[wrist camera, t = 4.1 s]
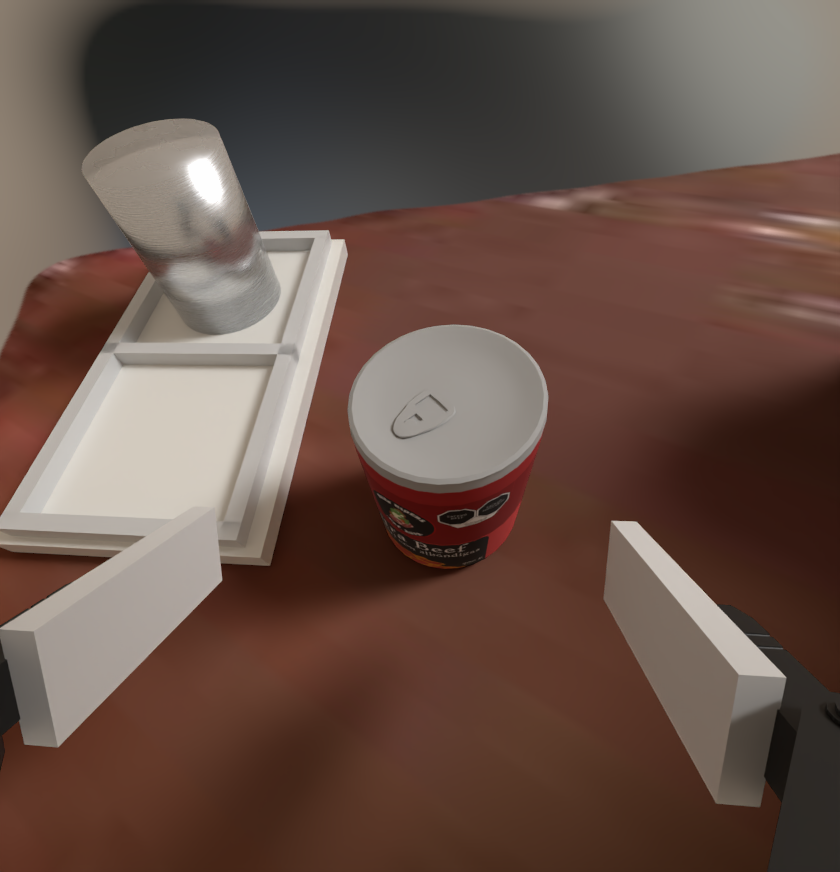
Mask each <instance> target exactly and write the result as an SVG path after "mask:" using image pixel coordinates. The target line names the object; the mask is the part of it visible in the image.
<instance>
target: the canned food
mask: <svg viewBox="0 0 840 872" xmlns="http://www.w3.org/2000/svg"><path fill="white" fill-rule="evenodd" d="M547 407H548V392H547V387H546V381H545V379H544V376H543V374H542V372H541V370H540V368H539V366H538V365H537V363H536V362H535V361H534V359H533V358H532V357H531V355H530V354H529V353H528V352H527V351H525V350H524V349H523V348H522V347H521V346H520V345H519V344H517V343H516V342H514V341H512V340H510V339H509V338H507V337H505V336H504V335H501V334H499V333H496V332H493V331H491V330H488V329H484V328H479V327H474V326H466V325H442V326H434V327H429V328H424V329H420V330H417V331H414V332H411V333H409V334H406V335H403V336H401V337H399V338H398V339H396V340H394V341H392V342H390V343H388V344H387V345H386V346H384V347H383V348H382V349H380V350H379V351H378V352H376V353H375V354H374V355H373V356H372V357H371V358H370V359H369V360H368V362H367V363H366V364H365V365H364V366H363V367H362V369H361V371H360V372H359V374H358V375H357V377H356V379H355V381H354V383H353V386H352V389H351V392H350V394H349V403H348V417H349V424H350V431H351V436H352V438H353V441H354V444H355V448H356V451H357V454H358V456H359V459H360V462H361V464H362V467H363V470H364V472H365V475H366V477H367V480H368V483H369V485H370V488H371V491H372V493H373V496H374V499H375V501H376V504H377V507H378V509H379V512H380V515H381V517H382V520H383V523H384V525H385V528H386V530H387V533H388V535H389V537H390V538H391V540H392V541H393V543H394V544H395V546H396V547H397V548H398V549H399V550H400V551H402V552H403V553H404V554H405V555H406V556H408V557H409V558H411V559H413V560H414V561H416V562H418V563H421V564H424V565H426V566H429V567H435V568H442V569H449V568H460V567H464V566H468V565H472V564H474V563H476V562H479V561H481V560H483V559H485V558H486V557H488V556H489V555H490V554H492V553H493V552H495V551H496V550H497V549H498V548H499V547H500V546H501V545H502V543H503V542H504V541H505V540H506V539H507V537H508V535H509V533H510V532H511V530H512V528H513V525H514V522H515V519H516V516H517V513H518V510H519V507H520V504H521V500H522V497H523V494H524V491H525V488H526V485H527V482H528V479H529V476H530V472H531V469H532V466H533V463H534V460H535V457H536V454H537V451H538V448H539V444H540V441H541V438H542V434H543V430H544V427H545V423H546V417H547Z"/></svg>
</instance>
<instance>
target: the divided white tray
mask: <svg viewBox="0 0 840 872" xmlns="http://www.w3.org/2000/svg"><path fill="white" fill-rule="evenodd" d="M259 234H260V236H261V239H262V241H263V244H264V246H265V249H266V251H267V253H268V256H269V258H270V261H271V263H272V266H273V268H274V271H275V273H276V276H277V278H278V281H279V283H280V287H281V294H280V298H279V300H278V303H277V304H276V306H275V307H274V309H273V310H272V311H271V312H270V313H269V314H268V315H267V316H266V317H265V318H263V319H262V320H261V321H259V322H258V323H256V324H254V325H252V326H250V327H248V328H246V329H243V330H241V331H237V332H234V333H229V334H222V335H209V334H203V333H199V332H196V331H194V330H192V329H191V328H189V327H188V326H187V325H186V324H185V323H184V321H183V320H182V318H181V317H180V316H179V314H178V313H177V311H176V310H175V308H174V307H173V305H172V304H171V302H170V301H169V300H168V298H167V297H166V295H165V294H164V292H163V291H162V289H161V288H160V286H159V285H158V283H157V282H156V281H155V279H154V278H153V276H152V275H151V273H150V272H149V273H148V274H147V276H146V277H145V279H144V281H143V282H142V284H141V286H140V287H139V289H138V291H137V292H136V294H135V296H134V297H133V299H132V301H131V302H130V304H129V306H128V307H127V309H126V311H125V312H124V314H123V315H122V317H121V319H120V320H119V322H118V324H117V325H116V327H115V329H114V330H113V332H112V334H111V335H110V337H109V339H108V340H107V342H106V344H105V345H104V347H103V349H102V350H101V352H100V353H99V355H98V357H97V358H96V360H95V362H94V363H93V365H92V367H91V368H90V370H89V372H88V373H87V375H86V377H85V378H84V380H83V382H82V383H81V385H80V386H79V388H78V390H77V391H76V393H75V395H74V396H73V398H72V400H71V401H70V403H69V405H68V406H67V408H66V410H65V411H64V413H63V415H62V416H61V418H60V420H59V421H58V423H57V424H56V426H55V428H54V429H53V431H52V433H51V434H50V436H49V438H48V439H47V441H46V443H45V444H44V446H43V448H42V449H41V451H40V453H39V454H38V456H37V458H36V459H35V461H34V462H33V464H32V466H31V467H30V469H29V471H28V472H27V474H26V476H25V477H24V479H23V481H22V482H21V484H20V486H19V487H18V489H17V491H16V492H15V494H14V496H13V497H12V499H11V500H10V502H9V504H8V505H7V507H6V509H5V510H4V512H3V514H2V515H1V517H0V547H1V548H4V549H7V550H9V551H12V552H24V553H43V554H61V555H79V556H98V557H114V556H115V555H117V554H119V553H120V552H122V551H123V550H125V549H127V548H128V547H130V546H131V545H133V544H135V543H136V542H138V541H139V540H141V539H143V538H144V537H146V536H147V535H149V534H150V533H152V532H154V531H155V530H157V529H158V528H160V527H162V526H163V525H165V524H166V523H168V522H170V521H171V520H173V519H174V518H176V517H178V516H179V515H181V514H182V513H184V512H186V511H187V510H189V509H190V508H192V507H215V515H216V524H217V534H218V544H219V553H220V563H226V564H245V565H263V566H270V564H271V560H272V556H273V552H274V548H275V544H276V540H277V536H278V532H279V528H280V524H281V520H282V516H283V512H284V508H285V504H286V500H287V496H288V492H289V488H290V484H291V480H292V476H293V472H294V468H295V464H296V460H297V456H298V452H299V448H300V444H301V440H302V436H303V432H304V428H305V424H306V420H307V416H308V412H309V408H310V404H311V400H312V396H313V392H314V388H315V384H316V380H317V376H318V372H319V368H320V364H321V360H322V356H323V352H324V348H325V344H326V340H327V336H328V332H329V328H330V324H331V320H332V316H333V312H334V308H335V304H336V300H337V296H338V292H339V288H340V284H341V280H342V276H343V272H344V268H345V264H346V260H347V256H348V254H347V249H346V245H345V241H344V240H331V237H330V233H329V230H327V231H271V232H259Z"/></svg>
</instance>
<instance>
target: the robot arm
mask: <svg viewBox="0 0 840 872" xmlns="http://www.w3.org/2000/svg"><path fill="white" fill-rule="evenodd" d="M221 581H222V572H221V563H220V553H219V544H218V534H217V524H216V515H215V507H192V508H190V509H189V510H187V511H186V512H184V513H182V514H181V515H179V516H178V517H176V518H174V519H173V520H171V521H170V522H168V523H166V524H165V525H163V526H162V527H160V528H158V529H157V530H155V531H154V532H152V533H150V534H149V535H147V536H146V537H144V538H143V539H141V540H139V541H138V542H136V543H135V544H133V545H131V546H130V547H128V548H127V549H125V550H123V551H122V552H120V553H119V554H117V555H115V556H114V557H112V558H111V559H109V560H108V561H106V562H104V563H103V564H101V565H100V566H98V567H96V568H95V569H93V570H92V571H90V572H88V573H87V574H85V575H84V576H82V577H80V578H79V579H77V580H76V581H74V582H71V583H69V584H66V585H64V586H63V587H61V588H60V589H58V590H56V591H55V592H53V593H52V594H50V595H48V596H47V598H46V599H42V600H40V601H39V602H37V603H36V604H34V605H32V606H31V609H26V610H24V611H23V612H21V613H20V614H18V615H16V616H15V617H13V618H12V619H10V620H8V621H7V622H5V623H3V624H2V625H0V770H1V766H2V761H3V757H4V753H5V748H4V742H3V738H2V735H3V734H4V733H5V732H6V731H7V730H8V729H10V728H11V727H12V726H13V725H14V724H15V723H17V722H18V721H19V723H20V727H21V732H22V736H23V740H24V744H25V745H36V746H48V747H59V746H60V745H61V744H62V743H63V742H64V741H65V740H66V739H67V738H68V737H69V736H70V735H71V734H72V733H73V732H74V731H75V730H76V729H77V728H78V727H79V725H80V724H81V723H82V722H83V721H84V720H85V719H86V718H87V717H88V716H89V715H90V714H91V713H92V712H93V711H94V710H95V709H96V708H97V707H98V706H99V705H100V704H101V703H102V702H103V701H104V700H105V699H106V698H107V697H108V696H109V695H110V694H111V693H112V692H113V691H114V690H115V689H116V688H117V687H118V686H119V685H120V684H121V683H122V682H123V681H124V680H125V679H126V678H127V677H128V676H129V675H130V674H131V673H132V672H133V671H134V670H135V669H136V668H137V667H138V666H139V665H140V664H141V663H142V662H143V661H144V659H145V658H146V657H147V656H148V655H149V654H150V653H151V652H152V651H153V650H154V649H155V648H156V647H157V646H158V645H159V644H160V643H161V642H162V641H163V640H164V639H165V638H166V637H167V636H168V635H169V634H170V633H171V632H172V631H173V630H174V629H175V628H176V627H177V626H178V625H179V624H180V623H181V622H182V621H183V620H184V619H185V618H186V617H187V616H188V615H189V614H190V613H191V612H192V611H193V610H194V609H195V608H196V607H197V606H198V605H199V604H200V603H201V602H202V601H203V600H204V599H205V598H206V597H207V596H208V595H209V594H210V592H211V591H212V590H213V589H214V588H215V587H216V586H217V585H218V584H219V583H220V582H221ZM604 601H605V603H606V604H607V606H608V608H609V610H610V612H611V613H612V615H613V617H614V619H615V621H616V623H617V624H618V626H619V628H620V630H621V632H622V633H623V635H624V637H625V639H626V641H627V643H628V644H629V646H630V648H631V650H632V652H633V653H634V655H635V657H636V659H637V661H638V663H639V664H640V666H641V668H642V670H643V672H644V673H645V675H646V677H647V679H648V681H649V683H650V684H651V686H652V688H653V690H654V692H655V693H656V695H657V697H658V699H659V701H660V702H661V704H662V706H663V708H664V710H665V712H666V713H667V715H668V717H669V719H670V721H671V722H672V724H673V726H674V728H675V730H676V732H677V733H678V735H679V737H680V739H681V741H682V742H683V744H684V746H685V748H686V750H687V752H688V753H689V755H690V757H691V759H692V761H693V762H694V764H695V766H696V768H697V770H698V771H699V773H700V775H701V777H702V779H703V781H704V782H705V784H706V786H707V788H708V790H709V791H710V793H711V795H712V797H713V799H714V801H715V802H716V804H728V805H740V806H752V807H760V805H761V801H762V796H763V791H764V786H765V781H767V782H768V784H769V785H770V786H771V788H772V789H773V791H774V792H775V794H776V795H777V796H778V798H779V799H780V801H781V802H782V804H781V809H780V813H779V818H778V823H777V827H776V832H775V837H774V841H773V846H772V850H771V856H770V860H769V865H768V870H767V872H840V693H835V692H830V691H829V690H827V689H826V688H825V687H824V686H823V685H822V684H821V683H820V682H819V681H818V680H817V679H816V678H815V677H814V676H813V675H812V674H811V673H810V672H809V671H808V670H807V669H805V668H804V667H803V666H802V665H801V664H800V663H799V662H798V661H797V660H796V659H795V658H794V657H793V656H792V655H791V654H790V653H789V652H788V651H787V650H783V647H782V646H781V645H780V644H779V643H778V642H777V641H776V640H775V639H774V638H773V637H770V636H769V633H768V632H767V631H766V630H765V629H764V628H763V627H761V626H760V625H759V624H758V623H757V622H756V621H755V620H754V619H753V618H751V617H750V616H748V615H746V614H745V613H743V612H741V611H740V610H738V609H736V608H735V607H733V606H731V605H717V604H715V603H714V602H713V601H712V600H711V599H710V598H709V597H708V596H707V594H706V593H705V592H704V591H703V590H702V589H701V588H700V587H699V586H698V585H697V584H696V583H695V582H694V581H693V580H692V579H691V578H690V577H689V576H688V575H687V574H686V573H685V572H684V571H683V570H682V569H681V568H680V566H679V565H678V564H677V563H676V562H675V561H674V560H673V559H672V558H671V557H670V556H669V555H668V554H667V553H666V552H665V551H664V550H663V549H662V548H661V547H660V546H659V545H658V544H657V543H656V542H655V541H654V539H653V538H652V537H651V536H650V535H649V534H648V533H647V532H646V531H645V530H644V529H643V528H642V527H641V526H640V525H639V524H638V523H637V522H633V521H611V528H610V538H609V548H608V559H607V569H606V579H605V589H604Z"/></svg>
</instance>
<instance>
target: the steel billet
mask: <svg viewBox="0 0 840 872" xmlns="http://www.w3.org/2000/svg"><path fill="white" fill-rule="evenodd" d="M82 173H83V175H84V177H85V178H86V180H87V181H88V183H89V184H90V185H91V187H92V188H93V190H94V191H95V193H96V194H97V196H98V197H99V199H100V200H101V202H102V203H103V205H104V206H105V207H106V209H107V210H108V212H109V213H110V215H111V216H112V218H113V219H114V221H115V222H116V224H117V225H118V226H119V228H120V229H121V231H122V232H123V234H124V235H125V236H126V238H127V240H128V241H129V243H130V244H131V245H132V247H133V248H134V250H135V251H136V253H137V254H138V256H139V257H140V259H141V260H142V262H143V263H144V264H145V266H146V267H147V269H148V270H149V272H150V273H151V275H152V276H153V278H154V279H155V281H156V282H157V283H158V285H159V286H160V288H161V289H162V291H163V292H164V294H165V295H166V297H167V298H168V300H169V301H170V302H171V304H172V305H173V307H174V308H175V310H176V311H177V313H178V314H179V316H180V317H181V318H182V320H183V321H184V323H185V324H186V325H187V326H188V327H189V328H191V329H192V330H194V331H196V332H199V333H203V334H209V335H222V334H229V333H234V332H237V331H241V330H243V329H246V328H248V327H250V326H252V325H254V324H256V323H258V322H259V321H261V320H262V319H263V318H265V317H266V316H267V315H268V314H269V313H270V312H271V311H272V310H273V309H274V307H275V306H276V304H277V303H278V300H279V298H280V294H281V287H280V283H279V281H278V278H277V276H276V273H275V271H274V268H273V266H272V263H271V261H270V258H269V256H268V253H267V251H266V249H265V246H264V244H263V241H262V239H261V236H260V234H259V231H258V229H257V226H256V224H255V221H254V219H253V216H252V214H251V211H250V209H249V207H248V204H247V201H246V199H245V197H244V194H243V192H242V189H241V187H240V184H239V182H238V179H237V177H236V174H235V172H234V169H233V167H232V164H231V162H230V159H229V157H228V154H227V152H226V149H225V147H224V145H223V142H222V139H221V137H220V135H219V132H218V131H217V129H216V128H215V127H214V126H212V125H210V124H208V123H206V122H203V121H199V120H194V119H168V120H160V121H155V122H150V123H146V124H142V125H139V126H135V127H133V128H130V129H127V130H125V131H122V132H120V133H118V134H116V135H114V136H112V137H110V138H108V139H107V140H105V141H103V142H102V143H100V144H99V145H98V146H96V147H95V148H94V149H93V150H92V151H91V152H90V153H89V154H88V155H87V156H86V158H85V159H84V161H83V164H82Z"/></svg>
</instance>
